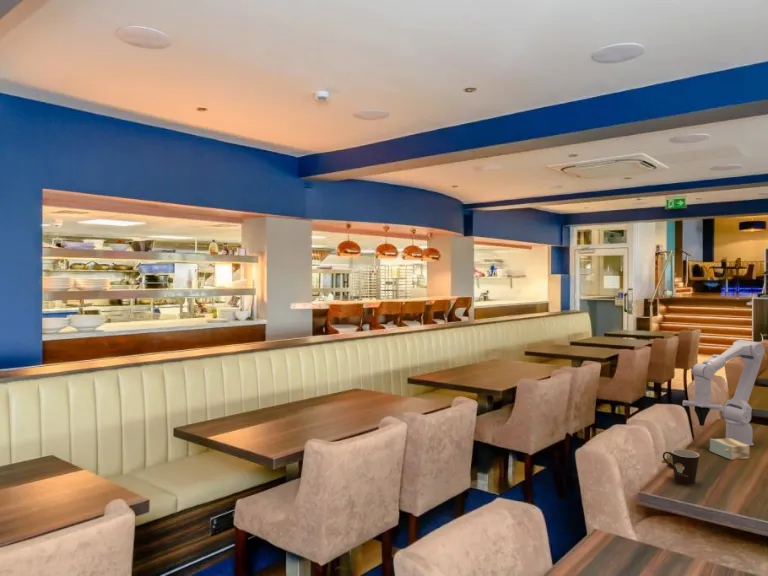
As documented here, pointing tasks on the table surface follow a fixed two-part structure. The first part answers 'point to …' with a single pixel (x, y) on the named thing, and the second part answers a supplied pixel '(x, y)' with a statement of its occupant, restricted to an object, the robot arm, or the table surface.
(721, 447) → the door
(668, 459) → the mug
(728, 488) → the table surface
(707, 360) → the robot arm
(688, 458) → the coffee mug
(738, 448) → the cabinet
